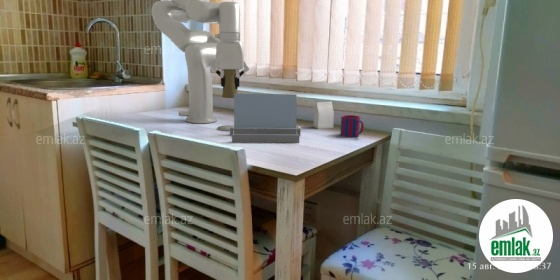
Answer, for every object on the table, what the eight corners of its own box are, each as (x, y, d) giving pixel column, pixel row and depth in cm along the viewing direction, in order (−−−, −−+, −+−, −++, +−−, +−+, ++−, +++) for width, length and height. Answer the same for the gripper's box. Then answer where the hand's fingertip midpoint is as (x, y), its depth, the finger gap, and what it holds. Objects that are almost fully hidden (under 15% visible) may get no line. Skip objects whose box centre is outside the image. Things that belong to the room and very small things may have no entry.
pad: (215, 131, 152) (215, 130, 152) (218, 125, 161) (218, 125, 161) (243, 131, 152) (243, 130, 152) (244, 126, 162) (244, 125, 162)
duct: (230, 134, 147) (230, 126, 146) (299, 134, 148) (300, 126, 147) (227, 142, 135) (227, 133, 134) (303, 142, 136) (303, 133, 135)
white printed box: (333, 127, 162) (334, 102, 160) (318, 128, 160) (319, 103, 157) (328, 126, 166) (329, 101, 163) (313, 127, 163) (314, 101, 161)
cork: (235, 98, 151) (235, 67, 148) (219, 97, 152) (219, 67, 149) (240, 96, 156) (240, 66, 154) (225, 95, 158) (224, 66, 155)
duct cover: (234, 127, 146) (234, 127, 147) (296, 128, 147) (296, 128, 148) (234, 93, 146) (234, 94, 147) (296, 94, 147) (296, 94, 148)
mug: (352, 132, 153) (353, 114, 152) (368, 138, 144) (369, 119, 143) (336, 134, 151) (337, 115, 149) (352, 139, 142) (353, 120, 140)
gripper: (205, 37, 145) (206, 89, 149) (252, 38, 146) (252, 90, 150) (207, 37, 153) (208, 87, 157) (253, 38, 153) (253, 88, 158)
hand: (230, 88), depth 153 cm, fingers closed on cork, 3 cm apart
